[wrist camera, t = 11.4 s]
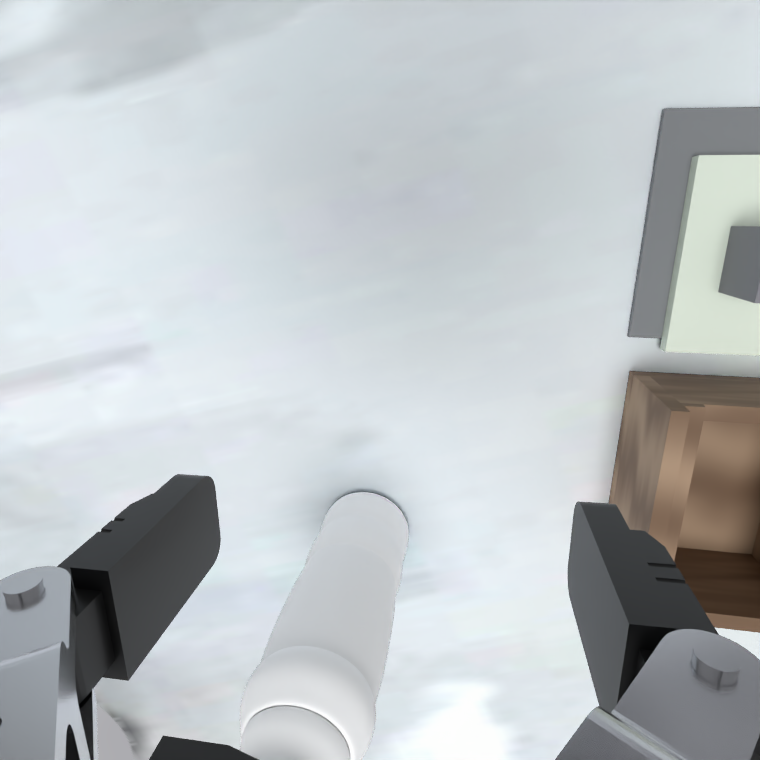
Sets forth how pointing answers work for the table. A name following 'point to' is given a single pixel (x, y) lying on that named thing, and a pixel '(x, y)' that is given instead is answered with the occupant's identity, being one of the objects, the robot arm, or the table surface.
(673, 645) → the robot arm
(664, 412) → the box
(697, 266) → the lid
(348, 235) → the table surface
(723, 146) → the mat
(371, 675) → the water bottle
